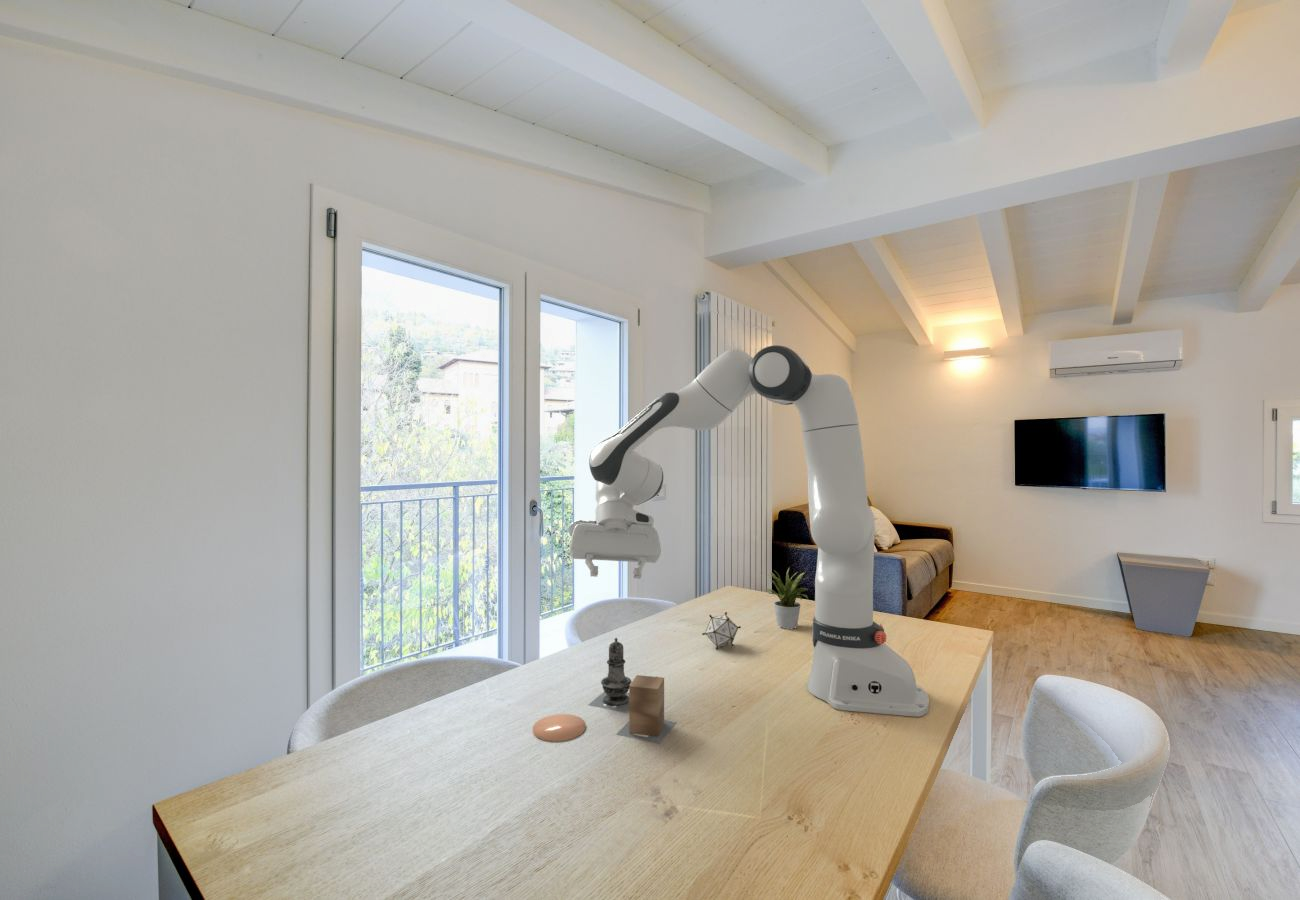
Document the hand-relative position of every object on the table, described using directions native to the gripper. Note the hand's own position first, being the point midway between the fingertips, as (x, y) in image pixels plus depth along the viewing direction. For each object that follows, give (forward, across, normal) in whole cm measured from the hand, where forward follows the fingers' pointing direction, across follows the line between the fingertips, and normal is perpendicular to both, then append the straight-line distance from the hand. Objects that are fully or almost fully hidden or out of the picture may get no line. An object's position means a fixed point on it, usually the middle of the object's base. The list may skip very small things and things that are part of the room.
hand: (616, 576), depth 124 cm
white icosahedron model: (+6, +30, +22) cm, 38 cm away
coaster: (+31, -11, -2) cm, 33 cm away
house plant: (-3, +51, +30) cm, 60 cm away
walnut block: (+32, +4, -5) cm, 33 cm away
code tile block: (+32, +4, -5) cm, 33 cm away
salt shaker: (+24, 0, +4) cm, 25 cm away
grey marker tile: (+24, 0, +4) cm, 25 cm away
